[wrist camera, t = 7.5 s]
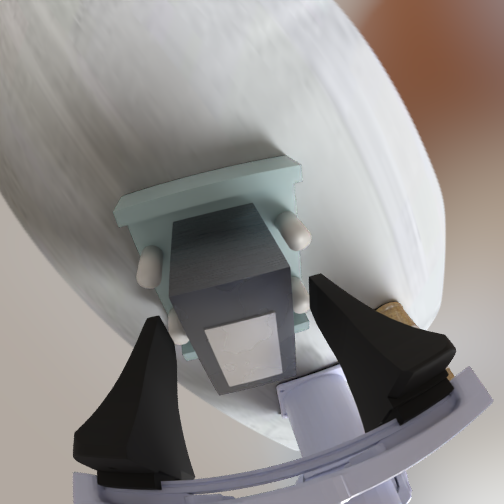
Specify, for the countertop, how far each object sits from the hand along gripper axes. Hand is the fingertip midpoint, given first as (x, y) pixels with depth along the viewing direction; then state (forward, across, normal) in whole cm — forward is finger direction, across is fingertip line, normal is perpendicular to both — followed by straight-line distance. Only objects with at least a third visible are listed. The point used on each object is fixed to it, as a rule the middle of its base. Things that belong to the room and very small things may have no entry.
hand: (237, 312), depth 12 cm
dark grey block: (+3, 0, 0) cm, 3 cm away
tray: (+4, 0, 0) cm, 4 cm away
